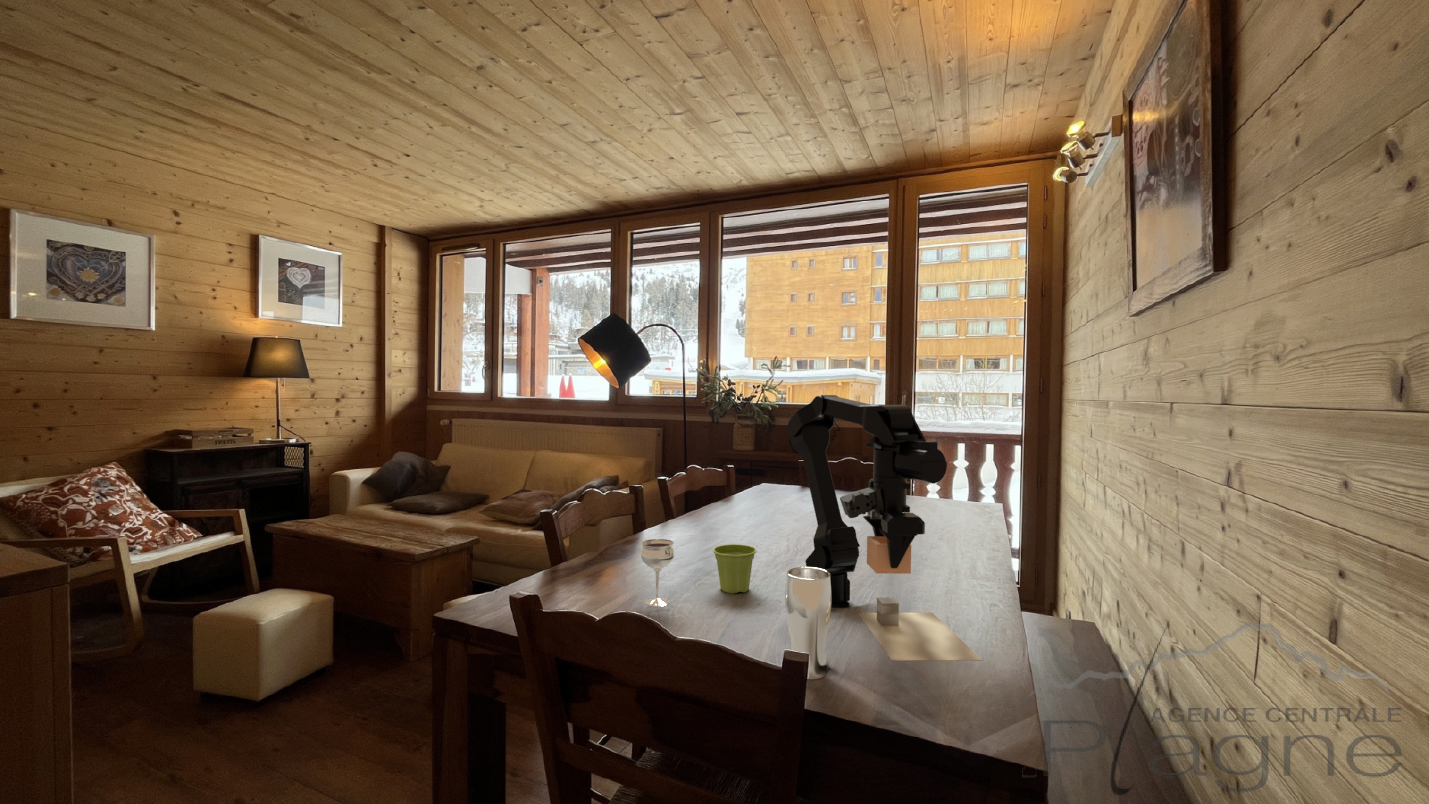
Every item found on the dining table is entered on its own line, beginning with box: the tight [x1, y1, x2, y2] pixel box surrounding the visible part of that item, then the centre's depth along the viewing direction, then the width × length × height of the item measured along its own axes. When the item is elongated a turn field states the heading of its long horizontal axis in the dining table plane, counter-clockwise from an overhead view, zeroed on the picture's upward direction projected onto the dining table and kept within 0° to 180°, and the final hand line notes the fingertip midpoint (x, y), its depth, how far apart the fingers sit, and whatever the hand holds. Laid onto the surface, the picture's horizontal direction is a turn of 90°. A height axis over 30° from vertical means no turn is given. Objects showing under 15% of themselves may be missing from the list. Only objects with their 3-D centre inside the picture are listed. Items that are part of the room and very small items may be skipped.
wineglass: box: [640, 538, 675, 608], centre depth 122 cm, size 7×7×12 cm
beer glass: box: [784, 566, 832, 681], centre depth 92 cm, size 7×7×15 cm
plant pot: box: [712, 543, 757, 594], centre depth 130 cm, size 9×9×9 cm
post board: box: [858, 597, 983, 662], centre depth 103 cm, size 14×20×6 cm
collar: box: [866, 535, 912, 575], centre depth 108 cm, size 6×6×5 cm
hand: (888, 562), depth 108 cm, fingers closed on collar, 6 cm apart
